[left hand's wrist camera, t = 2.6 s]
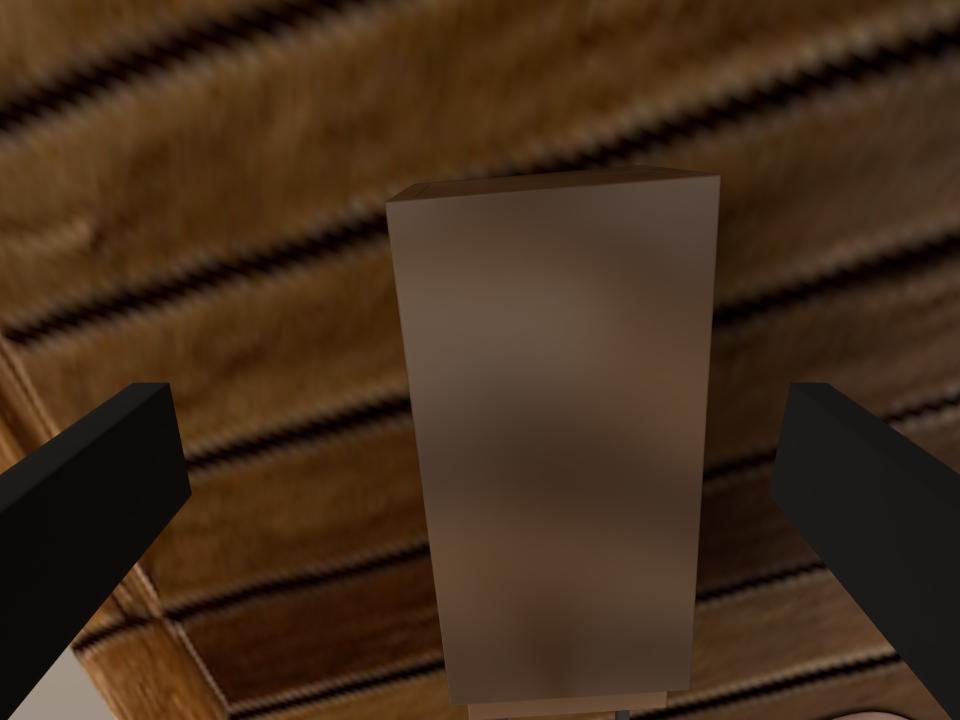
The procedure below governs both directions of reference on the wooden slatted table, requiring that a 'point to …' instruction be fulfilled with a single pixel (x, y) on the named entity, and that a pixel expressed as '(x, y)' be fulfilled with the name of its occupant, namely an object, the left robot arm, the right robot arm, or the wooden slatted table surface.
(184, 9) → the wooden slatted table surface
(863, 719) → the anatomical model
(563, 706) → the drawer
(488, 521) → the cabinet
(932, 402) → the wooden slatted table surface
